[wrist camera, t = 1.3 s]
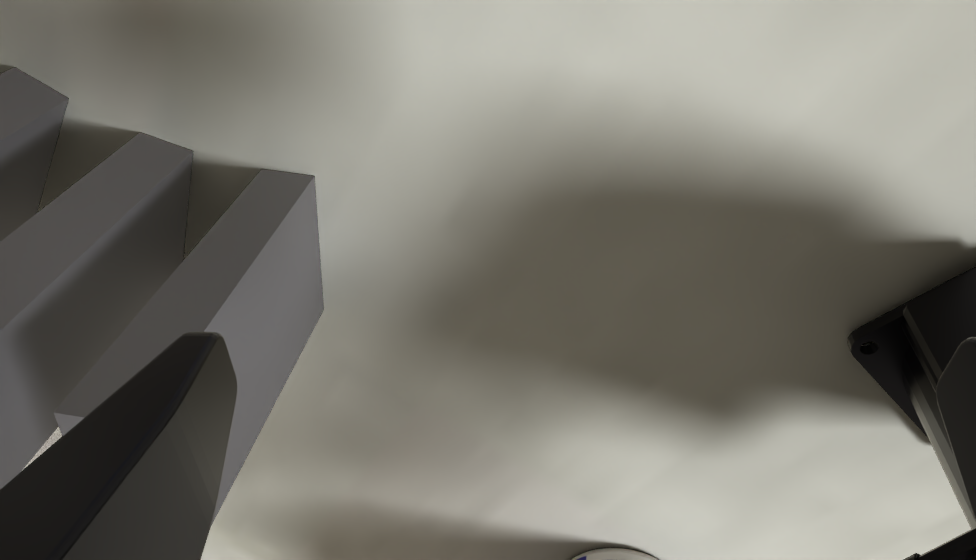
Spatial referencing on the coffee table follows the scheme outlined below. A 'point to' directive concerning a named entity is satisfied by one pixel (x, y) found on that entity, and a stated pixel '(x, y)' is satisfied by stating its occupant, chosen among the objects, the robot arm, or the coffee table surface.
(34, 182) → the domino
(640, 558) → the energy drink
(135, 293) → the domino
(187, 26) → the coffee table surface
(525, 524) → the coffee table surface
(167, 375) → the robot arm
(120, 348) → the domino
